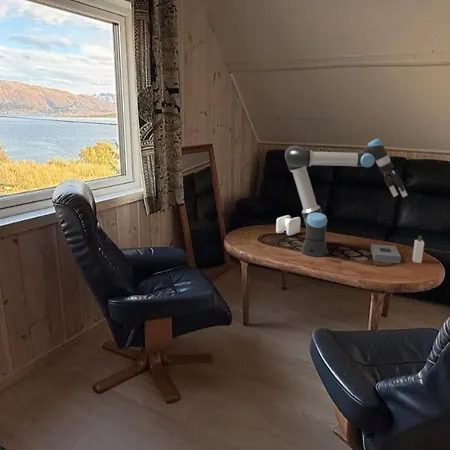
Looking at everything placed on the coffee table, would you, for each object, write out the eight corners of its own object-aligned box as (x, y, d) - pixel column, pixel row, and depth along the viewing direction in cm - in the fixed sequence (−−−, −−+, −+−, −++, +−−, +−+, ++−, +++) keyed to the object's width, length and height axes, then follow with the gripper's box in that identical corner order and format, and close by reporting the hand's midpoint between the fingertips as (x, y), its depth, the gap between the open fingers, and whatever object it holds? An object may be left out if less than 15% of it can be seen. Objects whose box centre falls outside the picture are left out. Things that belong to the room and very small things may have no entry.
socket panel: (374, 261, 240) (374, 254, 239) (370, 250, 259) (371, 244, 258) (400, 263, 237) (401, 256, 236) (394, 252, 256) (395, 246, 255)
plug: (413, 262, 239) (417, 237, 235) (412, 259, 243) (415, 234, 239) (421, 262, 238) (425, 237, 234) (419, 260, 243) (423, 235, 239)
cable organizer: (287, 237, 284) (288, 220, 281) (275, 234, 291) (275, 217, 288) (300, 232, 294) (301, 216, 291) (287, 230, 301) (288, 214, 298)
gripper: (399, 159, 234) (415, 193, 236) (382, 162, 259) (397, 192, 260) (387, 165, 235) (403, 199, 236) (371, 168, 259) (386, 198, 261)
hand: (400, 196), depth 248 cm, fingers open, 13 cm apart
